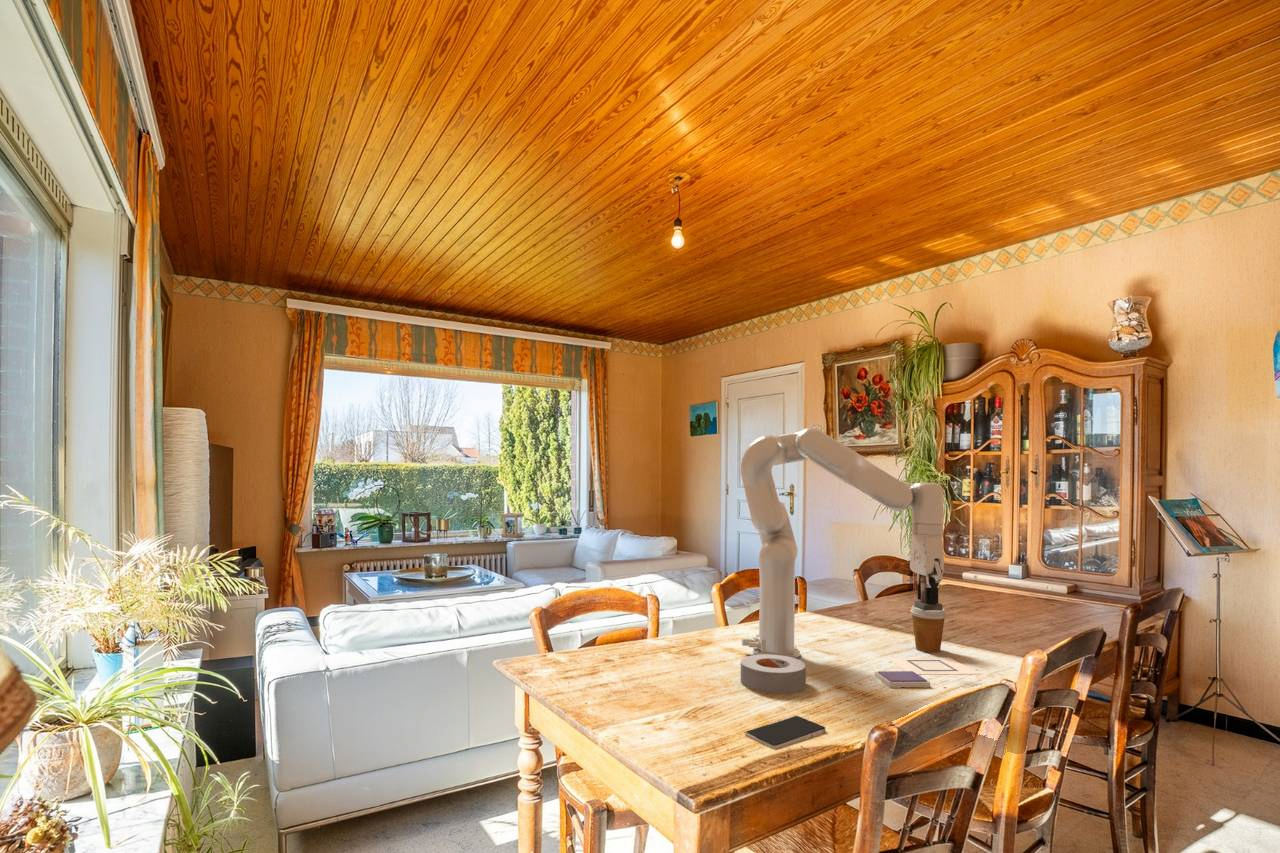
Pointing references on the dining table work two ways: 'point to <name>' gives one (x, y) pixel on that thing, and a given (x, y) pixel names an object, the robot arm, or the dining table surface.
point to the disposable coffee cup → (928, 629)
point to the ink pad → (901, 679)
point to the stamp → (922, 603)
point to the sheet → (932, 666)
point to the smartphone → (785, 732)
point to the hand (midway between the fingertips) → (927, 600)
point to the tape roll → (773, 674)
